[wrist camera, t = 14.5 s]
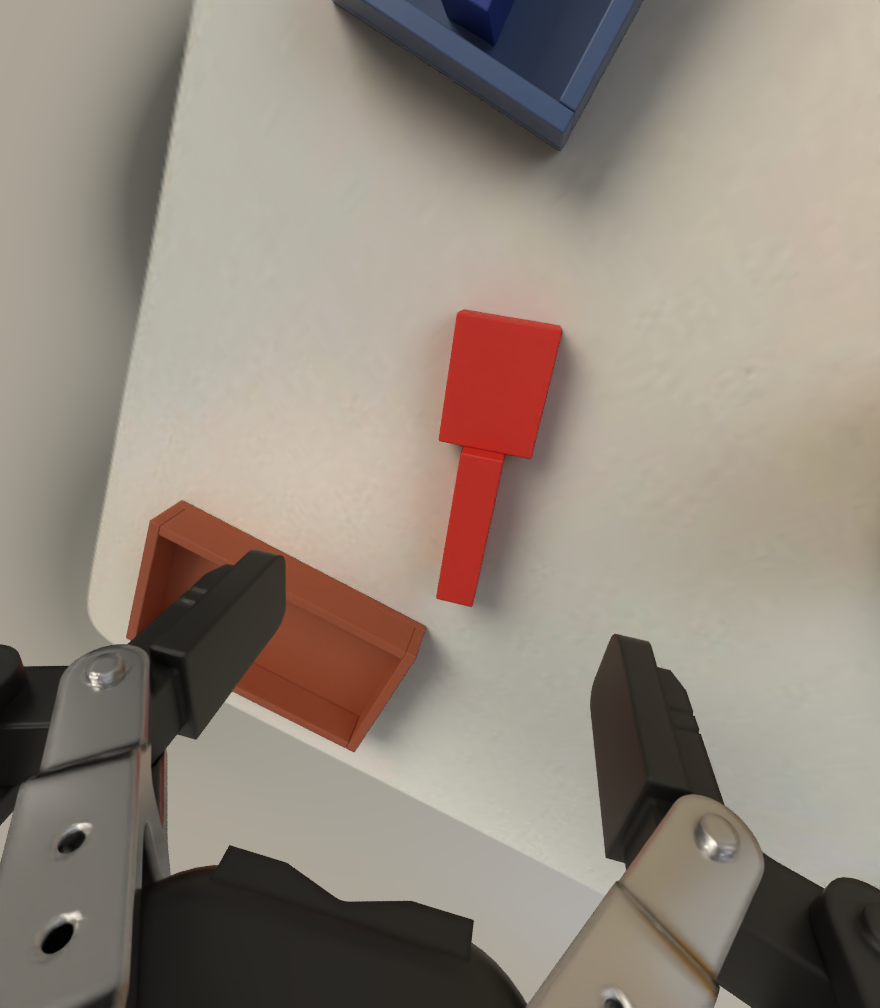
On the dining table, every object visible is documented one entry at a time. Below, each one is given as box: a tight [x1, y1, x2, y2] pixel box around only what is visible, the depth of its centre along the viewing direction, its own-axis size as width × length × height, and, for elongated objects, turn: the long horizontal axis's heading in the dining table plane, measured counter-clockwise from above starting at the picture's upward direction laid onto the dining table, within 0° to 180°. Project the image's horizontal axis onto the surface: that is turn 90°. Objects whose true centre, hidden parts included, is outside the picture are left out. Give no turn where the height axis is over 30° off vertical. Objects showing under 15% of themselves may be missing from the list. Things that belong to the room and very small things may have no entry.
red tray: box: [126, 500, 426, 752], centre depth 28 cm, size 15×9×2 cm, turn 64°
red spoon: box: [436, 309, 562, 607], centre depth 21 cm, size 13×4×2 cm, turn 172°
